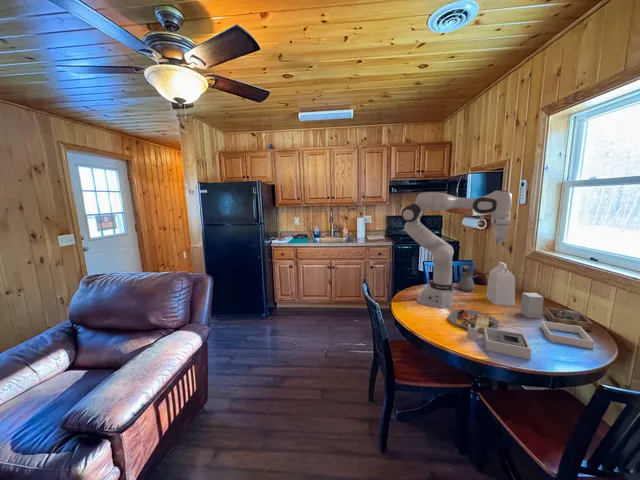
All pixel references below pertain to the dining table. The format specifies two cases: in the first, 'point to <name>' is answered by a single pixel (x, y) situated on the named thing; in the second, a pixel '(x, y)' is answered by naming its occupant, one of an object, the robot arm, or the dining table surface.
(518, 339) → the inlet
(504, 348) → the walled box
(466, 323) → the food plate
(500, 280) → the milk
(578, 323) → the stand rim
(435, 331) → the dining table surface
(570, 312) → the mineral specimen
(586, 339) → the open square frame
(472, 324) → the connector
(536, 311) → the supplement box
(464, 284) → the coffee pot
